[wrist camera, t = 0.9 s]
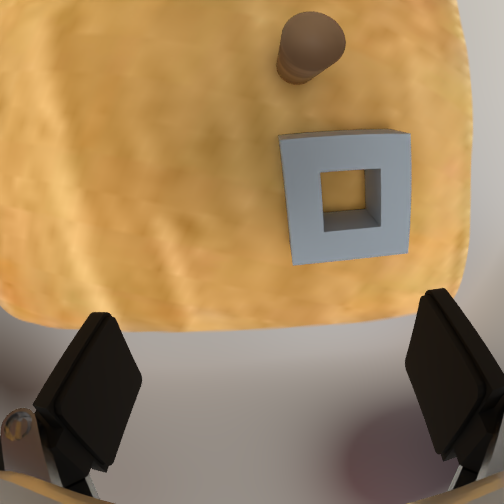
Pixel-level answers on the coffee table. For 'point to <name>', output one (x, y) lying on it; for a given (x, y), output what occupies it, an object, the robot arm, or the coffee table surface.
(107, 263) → the coffee table surface
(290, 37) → the peg
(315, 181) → the socket block
